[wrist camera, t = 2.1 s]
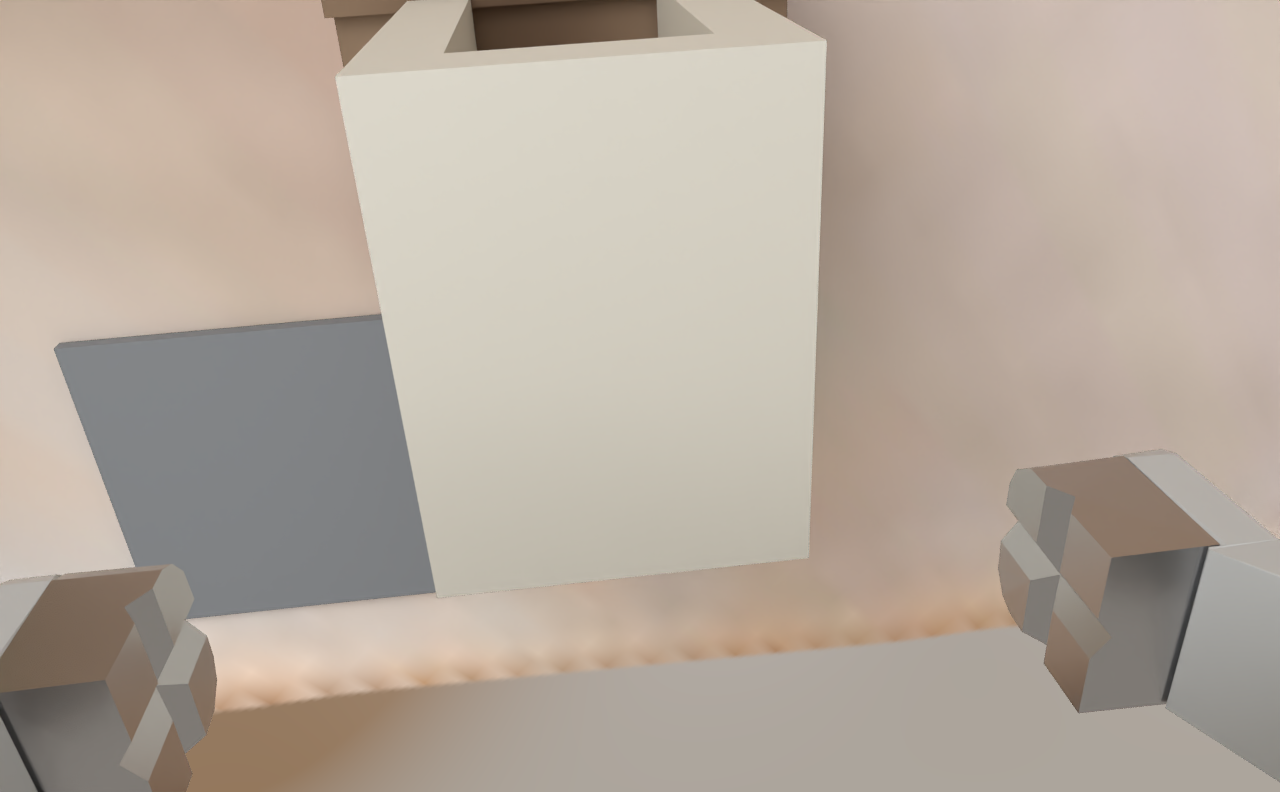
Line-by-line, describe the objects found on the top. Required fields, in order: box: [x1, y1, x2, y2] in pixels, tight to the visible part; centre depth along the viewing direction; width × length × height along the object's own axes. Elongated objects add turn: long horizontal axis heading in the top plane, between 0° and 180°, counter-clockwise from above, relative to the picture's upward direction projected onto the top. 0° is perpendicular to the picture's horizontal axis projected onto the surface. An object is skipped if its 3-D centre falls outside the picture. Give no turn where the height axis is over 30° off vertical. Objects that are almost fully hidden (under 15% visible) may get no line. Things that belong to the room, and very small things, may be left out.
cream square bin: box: [335, 0, 827, 598], centre depth 17 cm, size 6×8×8 cm
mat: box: [54, 314, 436, 619], centre depth 30 cm, size 10×10×1 cm
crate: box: [321, 0, 787, 67], centre depth 24 cm, size 9×9×6 cm
